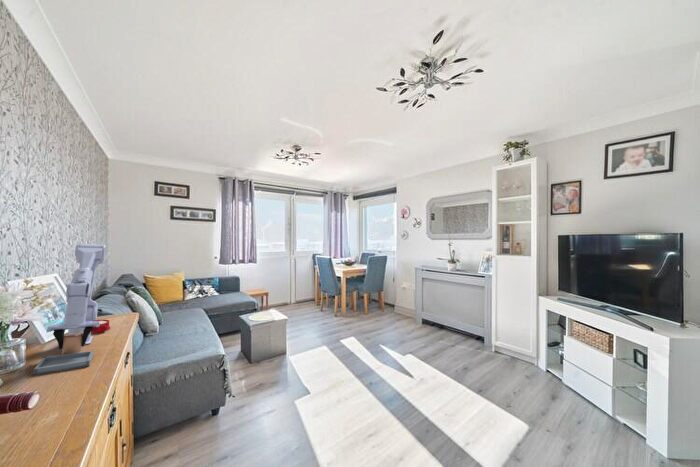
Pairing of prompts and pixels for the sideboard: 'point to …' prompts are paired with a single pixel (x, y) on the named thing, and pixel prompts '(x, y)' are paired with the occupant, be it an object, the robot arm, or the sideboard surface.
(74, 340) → the cup
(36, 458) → the sideboard surface
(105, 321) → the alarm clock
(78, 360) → the tray
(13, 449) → the sideboard surface
